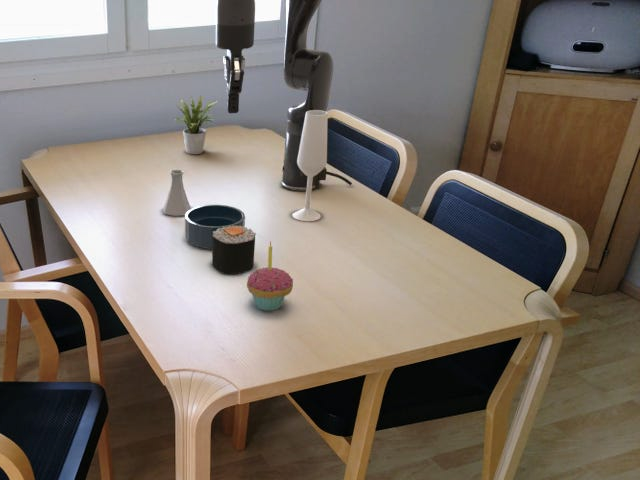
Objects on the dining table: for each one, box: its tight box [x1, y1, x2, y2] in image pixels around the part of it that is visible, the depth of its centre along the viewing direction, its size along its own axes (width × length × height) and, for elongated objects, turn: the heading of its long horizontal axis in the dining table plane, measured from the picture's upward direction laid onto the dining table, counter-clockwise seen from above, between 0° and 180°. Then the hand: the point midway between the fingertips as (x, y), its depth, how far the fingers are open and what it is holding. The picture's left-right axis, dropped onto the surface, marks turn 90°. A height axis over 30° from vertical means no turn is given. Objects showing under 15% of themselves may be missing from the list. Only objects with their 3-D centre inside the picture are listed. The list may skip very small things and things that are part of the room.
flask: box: [162, 169, 192, 217], centre depth 165 cm, size 7×7×10 cm
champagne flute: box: [291, 110, 329, 222], centre depth 156 cm, size 7×7×24 cm
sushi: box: [211, 225, 257, 275], centre depth 139 cm, size 8×8×8 cm
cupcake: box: [246, 241, 294, 312], centre depth 124 cm, size 9×8×12 cm
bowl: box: [184, 204, 246, 250], centre depth 152 cm, size 13×13×6 cm
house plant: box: [174, 95, 219, 155], centre depth 202 cm, size 14×14×16 cm
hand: (232, 112), depth 142 cm, fingers closed
